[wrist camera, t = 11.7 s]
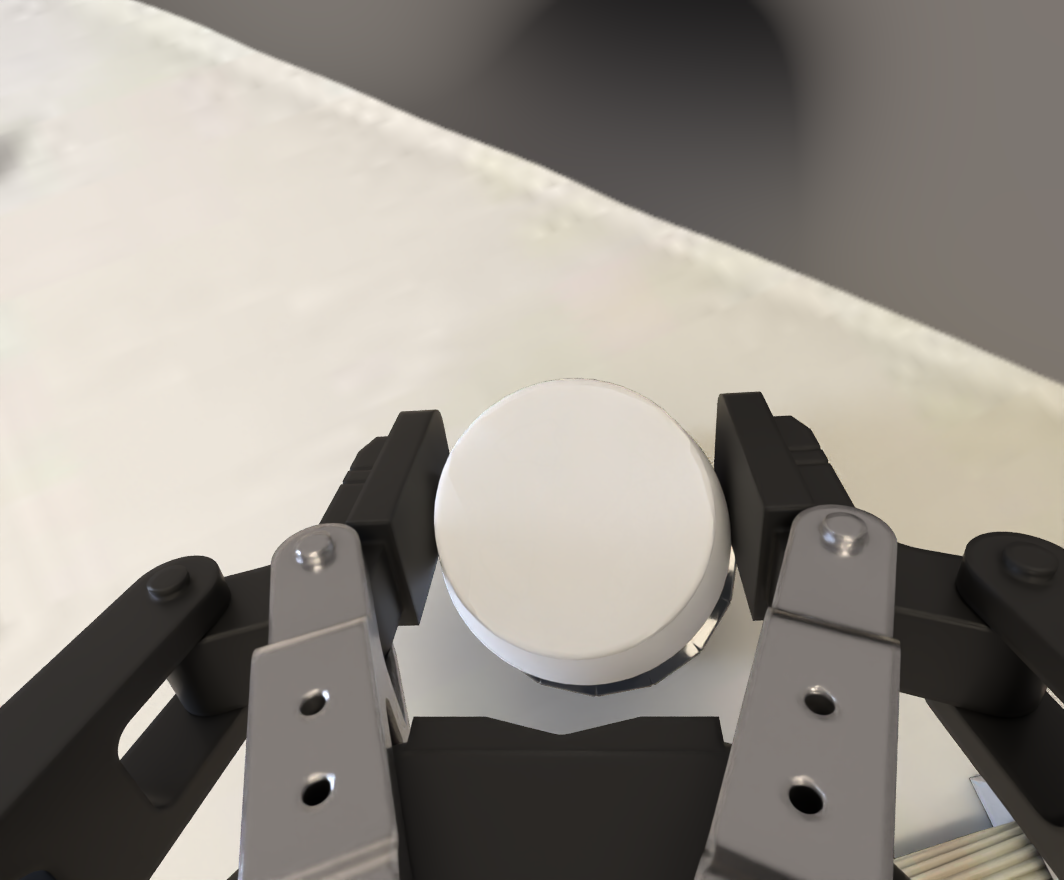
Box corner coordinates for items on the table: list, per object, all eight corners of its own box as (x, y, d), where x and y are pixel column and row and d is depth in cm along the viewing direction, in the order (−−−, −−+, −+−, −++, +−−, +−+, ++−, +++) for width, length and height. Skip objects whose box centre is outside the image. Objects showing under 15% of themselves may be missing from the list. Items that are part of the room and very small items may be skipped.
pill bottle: (697, 649, 17) (796, 722, 8) (501, 653, 18) (377, 724, 9) (680, 454, 19) (749, 316, 9) (497, 464, 19) (385, 344, 10)
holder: (676, 430, 25) (695, 383, 19) (733, 643, 23) (772, 663, 17) (476, 475, 25) (435, 443, 20) (515, 686, 24) (481, 719, 18)
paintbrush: (1469, 847, 17) (731, 1059, 18) (1356, 809, 19) (720, 997, 21) (1373, 696, 18) (678, 912, 19) (1278, 680, 20) (674, 871, 22)
